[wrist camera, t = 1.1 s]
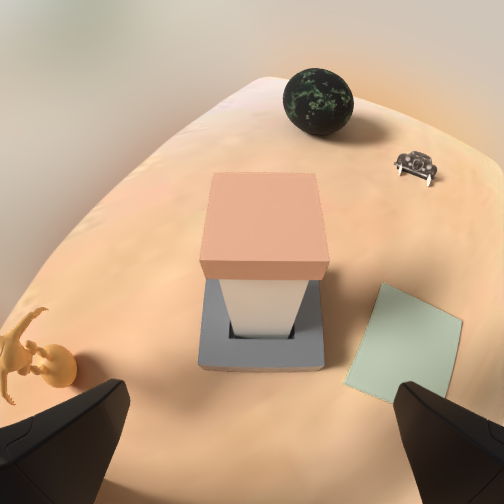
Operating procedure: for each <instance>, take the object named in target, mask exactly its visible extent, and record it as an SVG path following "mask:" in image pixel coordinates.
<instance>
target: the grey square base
mask: <svg viewBox="0 0 504 504" xmlns="http://www.w3.org/2000/svg"><path fill="white" fill-rule="evenodd" d="M198 365H199V366H200V367H201V368H203V369H204V370H215V371H235V372H307V371H318V370H320V369H321V368H323V367H324V366H325V364H324V344H323V328H322V314H321V301H320V290H319V280H309V282H308V285H307V287H306V290H305V293H304V296H303V299H302V302H301V304H300V307H299V310H298V313H297V315H296V318H295V321H294V323H293V326H292V329H291V331H290V334H289V337H288V339H236V338H235V334H234V331H233V328H232V324H231V321H230V317H229V314H228V311H227V307H226V304H225V300H224V297H223V293H222V290H221V286H220V282H219V279H206V285H205V294H204V303H203V313H202V323H201V334H200V345H199V356H198Z"/></svg>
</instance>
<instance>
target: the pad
mask: <svg viewBox="0 0 504 504" xmlns="http://www.w3.org/2000/svg"><path fill="white" fill-rule="evenodd" d="M461 325H462V321H461V320H459V319H457V318H455V317H453V316H451V315H449V314H447V313H445V312H443V311H441V310H439V309H437V308H435V307H433V306H431V305H429V304H427V303H425V302H423V301H421V300H419V299H417V298H415V297H413V296H411V295H409V294H407V293H405V292H402V291H400V290H398V289H396V288H394V287H392V286H390V285H388V284H386V283H384V282H383V283H382V285H381V287H380V290H379V293H378V296H377V299H376V302H375V305H374V308H373V311H372V314H371V317H370V319H369V322H368V325H367V328H366V330H365V333H364V335H363V338H362V341H361V343H360V346H359V348H358V351H357V353H356V355H355V358H354V360H353V363H352V365H351V367H350V369H349V372H348V374H347V376H346V378H345V381H344V383H343V384H344V385H346V386H349V387H351V388H353V389H356V390H358V391H361V392H363V393H366V394H368V395H371V396H373V397H376V398H378V399H381V400H383V401H386V402H389V403H391V404H393V402H394V398H395V396H396V393H397V390H398V387H399V385H400V384H401V383H402V382H407V381H413V382H415V383H417V384H419V385H421V386H423V387H424V388H426V389H428V390H430V391H432V392H434V393H436V394H438V395H440V396H442V397H444V398H445V395H446V392H447V389H448V385H449V381H450V378H451V374H452V370H453V366H454V362H455V357H456V353H457V348H458V343H459V337H460V332H461Z"/></svg>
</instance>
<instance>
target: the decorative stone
mask: <svg viewBox="0 0 504 504" xmlns="http://www.w3.org/2000/svg"><path fill="white" fill-rule="evenodd" d="M283 105H284V109H285V112H286V114H287V116H288V118H289V119H290V120H291V122H292V123H293V124H294V125H296V126H297V127H298V128H300V129H301V130H303V131H305V132H307V133H311V134H317V135H325V134H330V133H333V132H336V131H338V130H339V129H341V128H342V127H343V126H344V125H345V124H346V123H347V122H348V120H349V119H350V117H351V115H352V112H353V108H354V100H353V95H352V92H351V90H350V89H349V87H348V85H347V84H346V82H345V81H344V80H343V79H342V78H341V77H340V76H338V75H337V74H335V73H333V72H331V71H328V70H325V69H319V68H311V69H306V70H303V71H301V72H299V73H297V74H296V75H295V76H293V77H292V78H291V79H290V81H289V82H288V83H287V85H286V87H285V90H284V94H283Z"/></svg>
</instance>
